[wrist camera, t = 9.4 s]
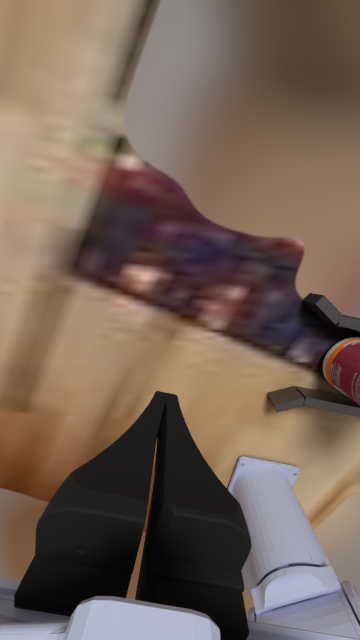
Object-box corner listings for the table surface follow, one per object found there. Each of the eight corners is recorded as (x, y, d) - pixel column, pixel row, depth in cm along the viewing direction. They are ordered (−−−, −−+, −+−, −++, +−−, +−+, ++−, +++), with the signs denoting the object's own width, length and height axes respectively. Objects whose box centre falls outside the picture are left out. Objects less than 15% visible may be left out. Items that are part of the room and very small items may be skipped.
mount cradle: (360, 417, 23) (380, 434, 20) (265, 399, 22) (274, 414, 20) (415, 315, 19) (447, 321, 17) (305, 292, 19) (322, 295, 17)
